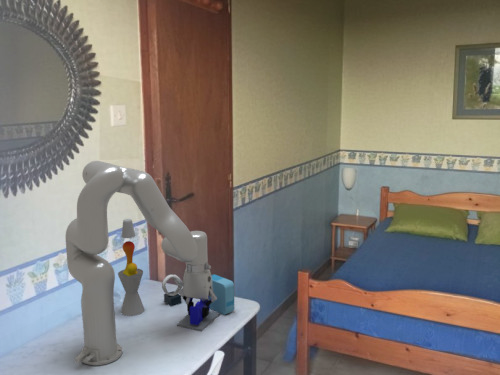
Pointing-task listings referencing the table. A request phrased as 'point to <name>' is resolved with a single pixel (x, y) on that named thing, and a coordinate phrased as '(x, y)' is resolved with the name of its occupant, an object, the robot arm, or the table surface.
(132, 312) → the lava lamp
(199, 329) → the mat
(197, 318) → the cable clip
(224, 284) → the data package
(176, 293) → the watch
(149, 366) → the table surface
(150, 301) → the table surface
